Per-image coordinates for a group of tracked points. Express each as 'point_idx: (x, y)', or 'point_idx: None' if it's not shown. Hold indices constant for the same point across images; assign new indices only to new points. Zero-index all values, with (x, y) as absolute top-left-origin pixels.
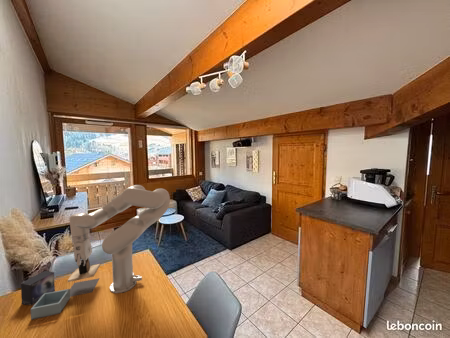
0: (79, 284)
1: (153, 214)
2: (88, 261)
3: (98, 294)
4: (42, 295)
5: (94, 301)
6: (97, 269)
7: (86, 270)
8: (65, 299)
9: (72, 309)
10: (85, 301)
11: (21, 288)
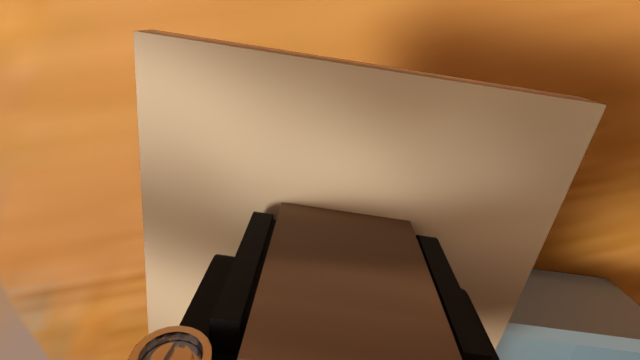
0: None
1: None
2: (296, 339)
3: (532, 24)
4: None
5: (633, 49)
6: (341, 60)
7: (445, 259)
8: (544, 299)
9: (611, 211)
10: None
11: None
